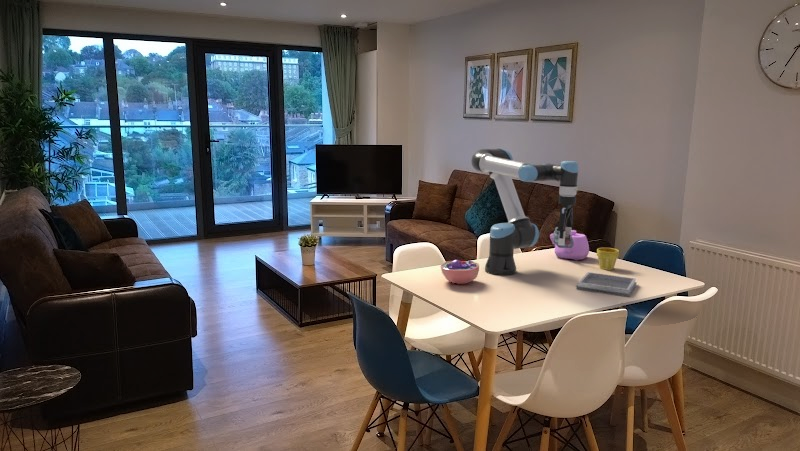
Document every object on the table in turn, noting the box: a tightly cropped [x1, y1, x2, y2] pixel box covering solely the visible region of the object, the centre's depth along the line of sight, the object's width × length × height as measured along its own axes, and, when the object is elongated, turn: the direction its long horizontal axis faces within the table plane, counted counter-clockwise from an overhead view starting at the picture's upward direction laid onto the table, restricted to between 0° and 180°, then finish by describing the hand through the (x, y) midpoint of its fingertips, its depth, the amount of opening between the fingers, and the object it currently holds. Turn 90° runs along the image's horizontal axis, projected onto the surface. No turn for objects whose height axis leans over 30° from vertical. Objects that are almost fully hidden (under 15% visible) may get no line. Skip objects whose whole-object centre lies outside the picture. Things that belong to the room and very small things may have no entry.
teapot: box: [549, 229, 590, 261], centre depth 306 cm, size 23×21×15 cm
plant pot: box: [596, 247, 620, 271], centre depth 286 cm, size 10×10×10 cm
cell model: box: [439, 259, 480, 285], centre depth 256 cm, size 17×20×11 cm
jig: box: [575, 271, 638, 298], centre depth 253 cm, size 22×22×3 cm
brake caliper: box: [551, 226, 574, 248], centre depth 259 cm, size 11×11×12 cm
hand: (564, 243), depth 259 cm, fingers closed on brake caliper, 11 cm apart
